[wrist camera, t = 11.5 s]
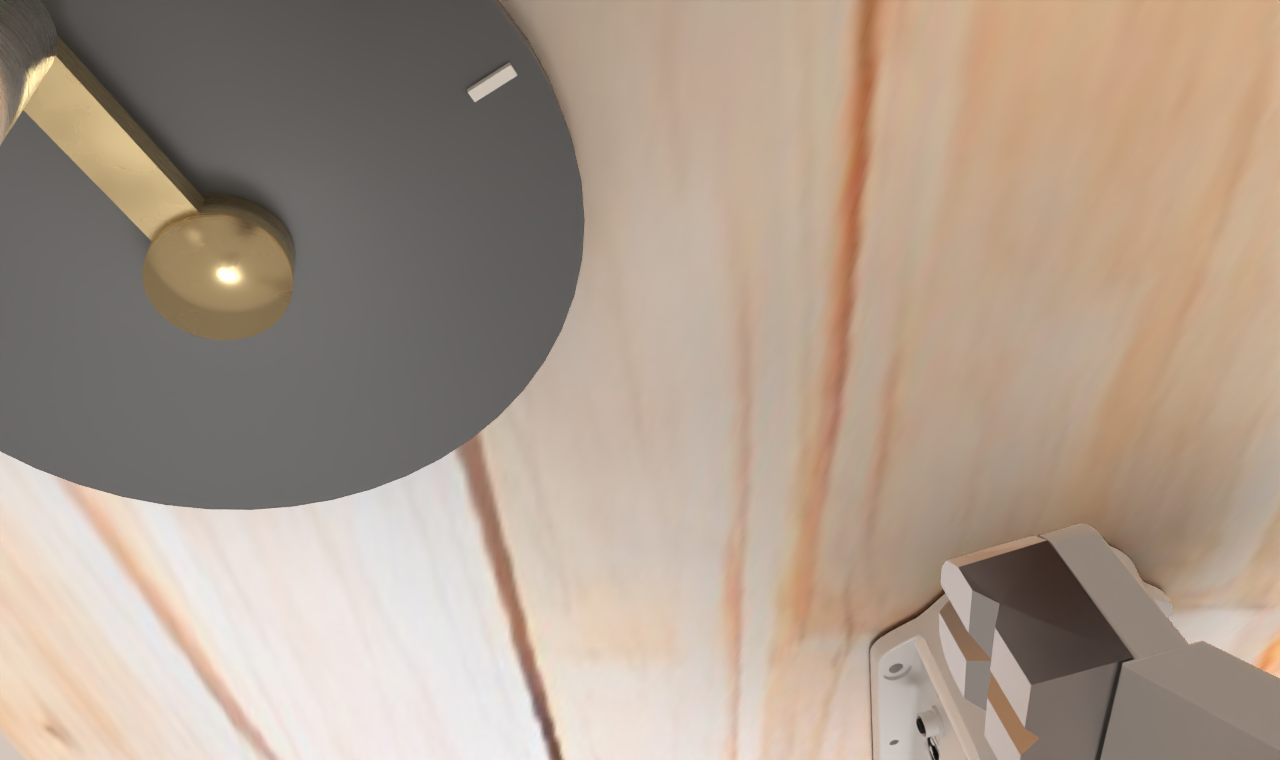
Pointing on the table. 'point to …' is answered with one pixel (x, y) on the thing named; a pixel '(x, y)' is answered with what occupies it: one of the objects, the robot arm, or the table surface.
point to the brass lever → (149, 189)
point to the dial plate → (323, 240)
